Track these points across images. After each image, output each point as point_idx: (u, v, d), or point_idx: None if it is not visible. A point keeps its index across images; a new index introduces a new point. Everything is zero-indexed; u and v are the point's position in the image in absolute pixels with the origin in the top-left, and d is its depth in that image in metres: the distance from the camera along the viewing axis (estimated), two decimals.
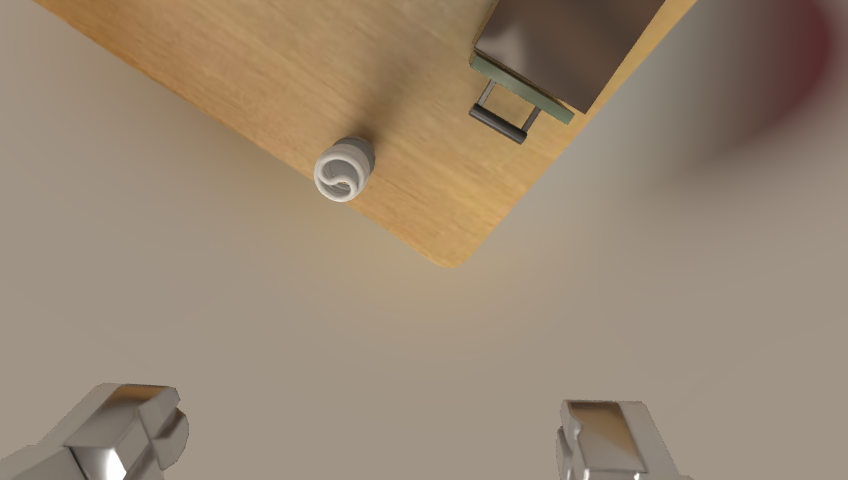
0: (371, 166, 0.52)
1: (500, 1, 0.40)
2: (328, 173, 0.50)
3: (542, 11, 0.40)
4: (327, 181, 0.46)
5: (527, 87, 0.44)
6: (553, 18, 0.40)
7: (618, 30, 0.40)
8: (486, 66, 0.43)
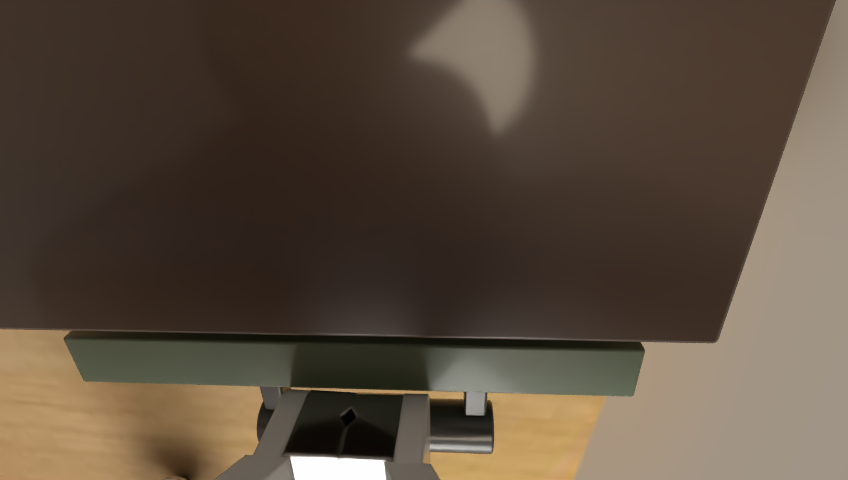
0: None
1: None
2: None
3: None
4: None
5: (352, 350, 0.09)
6: None
7: None
8: (135, 356, 0.09)
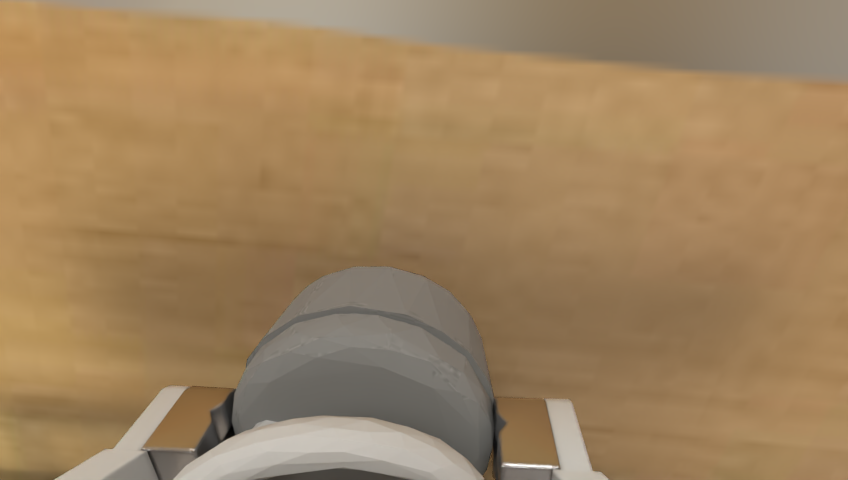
0: None
1: None
2: None
3: None
4: None
5: None
6: None
7: None
8: None
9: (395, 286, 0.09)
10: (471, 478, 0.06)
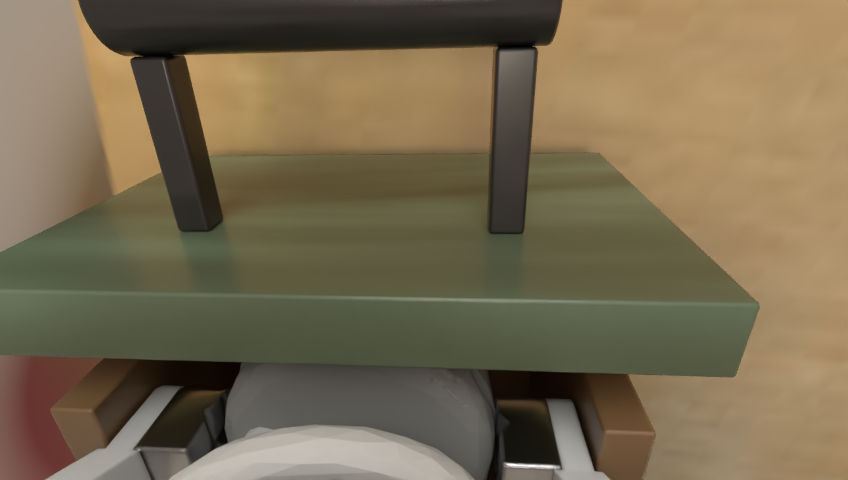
0: None
1: None
2: None
3: None
4: None
5: (307, 358, 0.06)
6: None
7: None
8: (633, 350, 0.06)
9: None
10: None
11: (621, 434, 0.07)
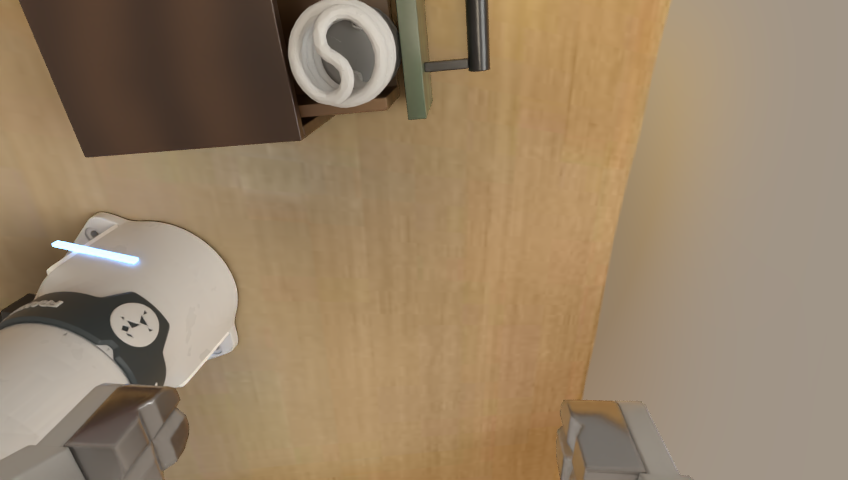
0: None
1: (239, 143, 0.30)
2: None
3: (206, 86, 0.29)
4: (342, 71, 0.23)
5: (400, 19, 0.27)
6: (201, 67, 0.28)
7: None
8: (412, 97, 0.29)
9: (401, 56, 0.30)
10: None
11: (385, 102, 0.29)
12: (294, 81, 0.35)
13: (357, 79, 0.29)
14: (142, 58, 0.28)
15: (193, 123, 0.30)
